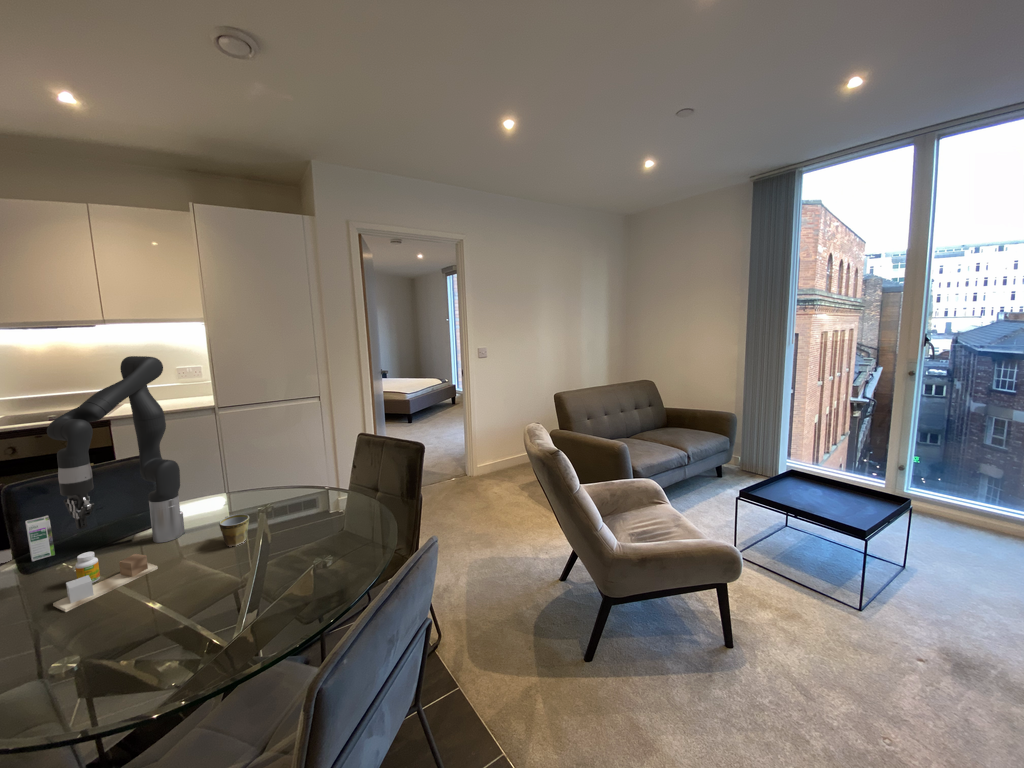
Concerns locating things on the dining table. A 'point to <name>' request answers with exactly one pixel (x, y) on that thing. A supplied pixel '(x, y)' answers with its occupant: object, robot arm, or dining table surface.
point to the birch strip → (102, 588)
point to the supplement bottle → (87, 566)
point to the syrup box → (40, 538)
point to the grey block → (79, 589)
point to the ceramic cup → (234, 529)
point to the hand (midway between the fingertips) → (81, 527)
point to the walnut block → (133, 565)
